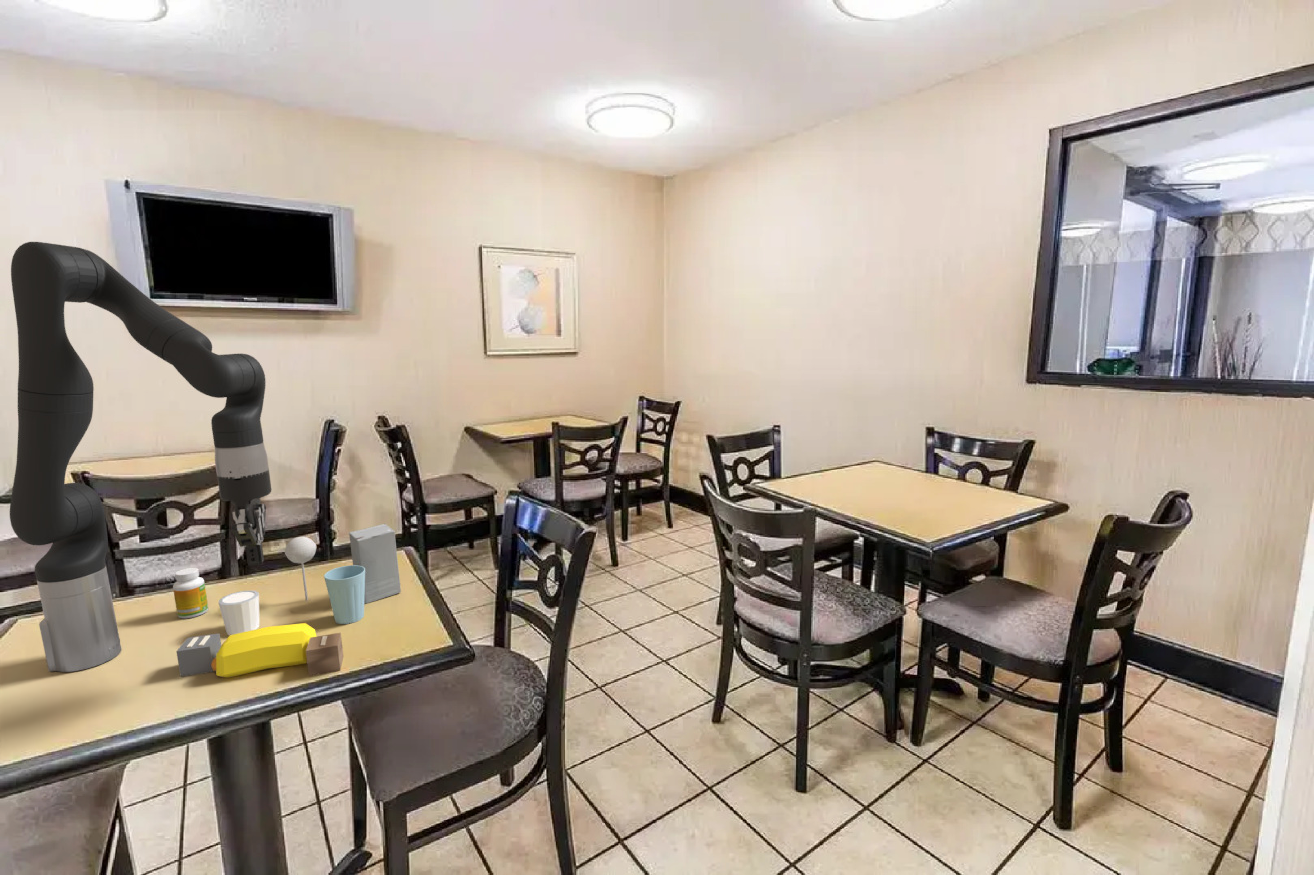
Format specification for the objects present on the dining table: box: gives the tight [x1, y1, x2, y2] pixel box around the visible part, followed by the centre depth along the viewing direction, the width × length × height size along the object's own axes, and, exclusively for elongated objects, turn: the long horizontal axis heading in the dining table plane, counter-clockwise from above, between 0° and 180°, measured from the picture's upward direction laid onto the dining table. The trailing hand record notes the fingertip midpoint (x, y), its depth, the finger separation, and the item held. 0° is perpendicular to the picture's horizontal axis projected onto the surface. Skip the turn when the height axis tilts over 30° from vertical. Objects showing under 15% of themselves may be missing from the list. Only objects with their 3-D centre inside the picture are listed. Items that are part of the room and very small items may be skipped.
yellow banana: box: [211, 622, 317, 678], centre depth 112 cm, size 18×7×8 cm
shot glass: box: [218, 589, 260, 636], centre depth 125 cm, size 7×7×7 cm
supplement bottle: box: [172, 567, 209, 619], centre depth 131 cm, size 5×5×10 cm
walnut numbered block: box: [306, 632, 344, 677], centre depth 111 cm, size 5×5×5 cm
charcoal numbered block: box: [176, 633, 222, 678], centre depth 111 cm, size 5×5×5 cm
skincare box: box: [348, 523, 402, 605], centre depth 139 cm, size 8×7×16 cm
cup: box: [323, 564, 365, 625], centre depth 129 cm, size 8×8×10 cm
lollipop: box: [284, 536, 317, 602], centre depth 137 cm, size 6×6×15 cm
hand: (256, 564), depth 109 cm, fingers closed
